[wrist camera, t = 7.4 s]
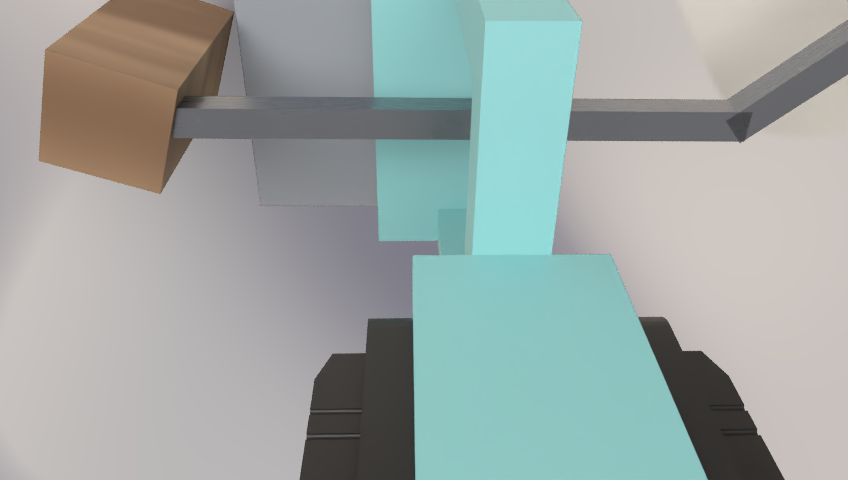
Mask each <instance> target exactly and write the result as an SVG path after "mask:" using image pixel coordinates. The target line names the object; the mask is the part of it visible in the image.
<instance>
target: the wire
mask: <svg viewBox="0 0 848 480" xmlns="http://www.w3.org/2000/svg"><path fill="white" fill-rule="evenodd" d="M846 75H848V20H847V21H845V22H844V23H842V24H841V25H839V26H838V27H836V28H835V29H833V30H832V31H830V32H829V33H827V34H826V35H824V36H823V37H821V38H820V39H818V40H817V41H815V42H814V43H812V44H811V45H809V46H808V47H806V48H805V49H803V50H802V51H800V52H799V53H797V54H796V55H794V56H793V57H791V58H789V59H788V60H786V61H785V62H783V63H782V64H780V65H779V66H777V67H776V68H774V69H773V70H771V71H770V72H768V73H767V74H765V75H764V76H762V77H761V78H759V79H758V80H756V81H755V82H753V83H752V84H750V85H749V86H747V87H746V88H744V89H743V90H741V91H740V92H738V93H737V94H735V95H734V96H732V97H731V98H729V99H728V100H671V99H670V100H669V99H572V104H571V112H570V119H569V127H568V134H567V140H574V141H575V140H576V141H577V140H580V141H581V140H582V141H586V140H587V141H738V142H740V143H741V142H742V141H745V140H746V139H747V138H749V137H750V136H752V135H753V134H755V133H757V132H758V131H760V130H761V129H763V128H764V127H766V126H768V125H769V124H771V123H772V122H774V121H775V120H777V119H779V118H780V117H782V116H783V115H785V114H786V113H788V112H790V111H791V110H793V109H794V108H796V107H797V106H799V105H801V104H802V103H804V102H805V101H807V100H808V99H810V98H812V97H813V96H815V95H816V94H818V93H819V92H821V91H823V90H824V89H826V88H827V87H829V86H830V85H832V84H834V83H835V82H837V81H838V80H840V79H841V78H843V77H844V76H846ZM471 111H472V98H405V97H271V96H184V98H183V99H182V101H181V102H180V104H179V105H178V107H177V108H176V113H175V119H174V125H173V131H172V137H171V138H231V139H232V138H233V139H234V138H237V139H238V138H239V139H241V138H242V139H250V138H251V139H402V140H470V131H471Z"/></svg>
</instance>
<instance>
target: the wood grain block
mask: <svg viewBox="0 0 848 480" xmlns="http://www.w3.org/2000/svg"><path fill="white" fill-rule="evenodd" d="M233 14H234V12H233V11H230V10H227V9H224V8H221V7H218V6H215V5H211V4H209V3H206V2H203V1H200V0H110V1H108V2H107V3H106V4H105V5H103V6H102V7H101V8H99V9H98V10H97V11H96V12H94V13H93V14H91V15H90V16H89V17H88V18H86V19H85V20H84V21H82V22H81V23H80V24H78V25H77V26H76V27H74V28H73V29H72V30H70V31H69V32H68V33H67V34H65V35H64V36H63V37H61V38H60V39H59V40H57V41H56V42H55V43H54V44H52V45H51V46H50V47H48V48H47V49H46V50H45V61H44V80H43V97H42V114H41V131H40V149H39V150H40V151H39V161H42V162H45V163H49V164H52V165H56V166H60V167H63V168H68V169H71V170H74V171H78V172H82V173H85V174H89V175H93V176H96V177H100V178H104V179H107V180H112V181H115V182H118V183H122V184H126V185H129V186H133V187H137V188H140V189H144V190H148V191H152V192H155V193H159V194H160V193H161V192H162V190H163V188H164V187H165V185H166V183H167V182H168V180H169V178H170V176H171V175H172V173H173V171H174V169H175V168H176V166H177V165H178V163H179V161H180V159H181V158H182V156H183V154H184V153H185V151H186V149H187V147H188V146H189V144H190V142H191V141H192V139H193V138H171V137H172V131H173V125H174V119H175V113H176V108H177V107H178V105H179V104H180V102H181V101H182V99H183V98H184V96H217V95H218V90H219V85H220V80H221V75H222V70H223V65H224V60H225V55H226V50H227V45H228V40H229V35H230V30H231V25H232V20H233Z"/></svg>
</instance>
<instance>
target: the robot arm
mask: <svg viewBox="0 0 848 480" xmlns="http://www.w3.org/2000/svg"><path fill="white" fill-rule="evenodd" d="M638 319H639V321H640V323H641V326H642V328H643V330H644V333H645V335H646V337H647V340H648V342H649V344H650V347H651V349H652V351H653V354H654V356H655V358H656V360H657V363H658V365H659V367H660V370H661V372H662V374H663V377H664V379H665V381H666V384H667V386H668V388H669V391H670V393H671V395H672V398H673V400H674V402H675V405H676V407H677V409H678V412H679V414H680V416H681V419H682V421H683V423H684V426H685V428H686V430H687V433H688V435H689V437H690V440H691V442H692V444H693V447H694V449H695V451H696V454H697V456H698V458H699V461H700V463H701V465H702V468H703V470H704V472H705V475H706V477H707V479H708V480H784V478H783V476H782V474H781V472H780V470H779V469H778V467H777V465H776V463H775V461H774V459H773V457H772V456H771V454H770V452H769V450H768V448H767V446H766V444H765V443H764V441H763V439H762V437H761V436H760V435H758V434H757V428H756V426H755V424H754V422H753V420H752V419H751V417H750V415H749V413H748V411H745V410H744V404H743V402H742V400H741V398H740V396H739V394H738V392H737V391H736V389H735V387H734V385H733V383H732V381H731V379H730V378H729V376H728V375H727V374H726V373H725V372H724V371H723V370H722V369H720V368H719V367H718V366H717V365H716V364H715V363H714V362H712V360H710V359H709V358H708V357H707V356H706V355H705V354H704V353H703V352H702V351H682V349H681V347H680V345H679V343H678V341H677V339H676V337H675V335H674V333H673V331H672V328H671V326H670V324H669V323H668V321H667V320H666V319H665V318H663V317H638ZM300 480H415V429H414V357H413V318H394V319H392V318H391V319H368V329H367V344H366V353H363V354H362V353H361V354H332V356H331V357H330V358H329V360H328V362H327V363H326V364H325V366H324V367H323V368H322V370H321V371H320V373H319V374H318V375H317V377H316V378H315V381H314V387H313V394H312V401H311V408H310V415H309V421H308V428H307V439H306V441H305V448H304V454H303V461H302V468H301V475H300Z"/></svg>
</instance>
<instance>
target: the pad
mask: <svg viewBox="0 0 848 480" xmlns="http://www.w3.org/2000/svg"><path fill="white" fill-rule="evenodd" d="M234 6H235V14H236V22H237V29H238V37H239V45H240V52H241V60H242V68H243V74H244V83H245V90H246V96H271V97H374V75H373V44H372V13H371V0H234ZM252 144H253V151H254V159H255V167H256V175H257V183H258V190H259V198H260V205H261V206H378V201H377V169H376V139H252Z"/></svg>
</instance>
